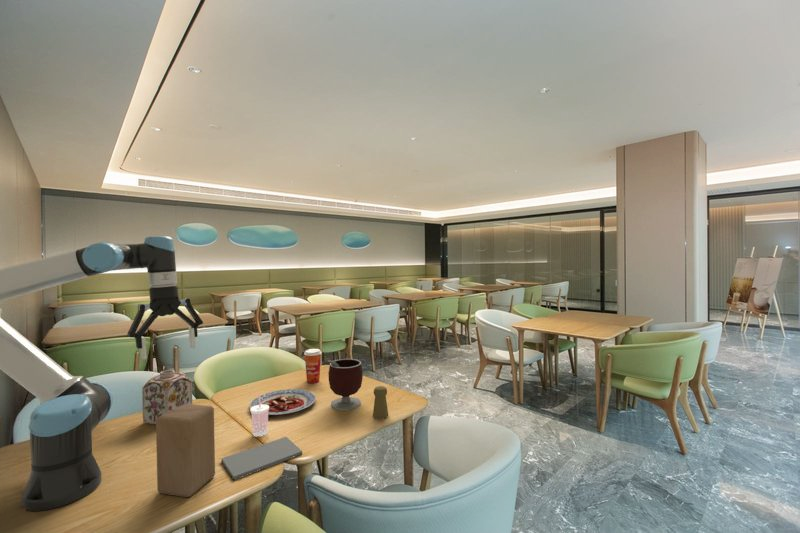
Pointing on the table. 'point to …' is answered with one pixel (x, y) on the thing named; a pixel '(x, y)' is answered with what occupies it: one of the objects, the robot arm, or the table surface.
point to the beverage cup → (259, 419)
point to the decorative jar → (165, 394)
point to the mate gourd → (345, 382)
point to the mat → (260, 457)
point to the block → (185, 449)
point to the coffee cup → (312, 365)
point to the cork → (380, 402)
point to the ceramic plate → (285, 401)
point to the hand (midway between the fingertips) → (169, 352)
